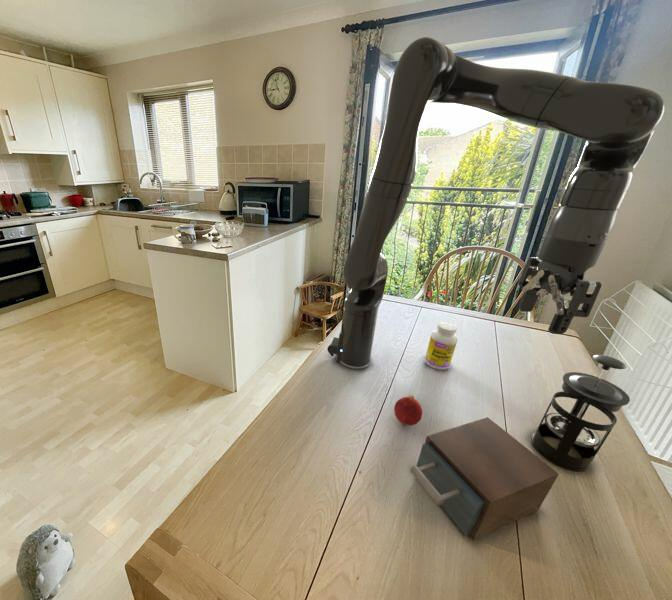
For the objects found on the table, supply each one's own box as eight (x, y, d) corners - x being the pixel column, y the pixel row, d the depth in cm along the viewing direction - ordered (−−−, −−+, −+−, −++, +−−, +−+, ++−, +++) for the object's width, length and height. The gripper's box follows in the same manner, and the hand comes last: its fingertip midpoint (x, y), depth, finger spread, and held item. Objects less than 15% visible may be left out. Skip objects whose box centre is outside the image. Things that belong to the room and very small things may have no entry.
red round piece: (421, 435, 68) (429, 407, 65) (393, 431, 69) (400, 403, 66) (415, 415, 73) (422, 389, 70) (390, 412, 74) (395, 385, 71)
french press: (586, 483, 58) (649, 386, 48) (525, 451, 64) (570, 359, 55) (594, 448, 65) (650, 357, 55) (538, 422, 71) (580, 336, 62)
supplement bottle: (424, 367, 90) (434, 329, 85) (423, 355, 96) (433, 318, 90) (450, 373, 88) (462, 333, 82) (448, 360, 93) (459, 322, 88)
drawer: (441, 546, 48) (454, 515, 44) (393, 479, 57) (401, 450, 54) (526, 508, 53) (543, 478, 50) (468, 453, 63) (479, 425, 59)
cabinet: (472, 540, 49) (490, 502, 45) (416, 471, 60) (426, 435, 56) (537, 511, 53) (559, 473, 49) (473, 451, 64) (487, 416, 60)
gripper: (524, 225, 58) (496, 303, 65) (585, 245, 45) (543, 340, 52) (567, 226, 57) (535, 305, 64) (642, 247, 44) (592, 343, 51)
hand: (539, 321), depth 58 cm, fingers open, 8 cm apart
